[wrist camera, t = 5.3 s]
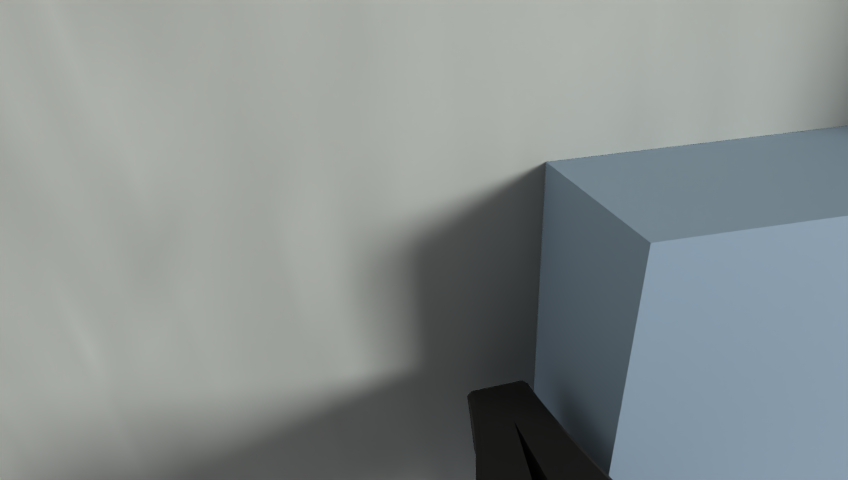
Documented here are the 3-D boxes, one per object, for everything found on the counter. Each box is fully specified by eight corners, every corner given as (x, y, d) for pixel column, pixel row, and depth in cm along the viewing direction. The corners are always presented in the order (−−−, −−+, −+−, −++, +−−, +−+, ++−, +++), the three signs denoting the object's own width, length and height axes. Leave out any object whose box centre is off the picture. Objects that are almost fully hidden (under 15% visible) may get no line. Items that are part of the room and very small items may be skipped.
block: (525, 464, 14) (583, 616, 10) (539, 156, 9) (650, 243, 6) (759, 422, 15) (886, 551, 11) (879, 116, 10) (1161, 172, 7)
